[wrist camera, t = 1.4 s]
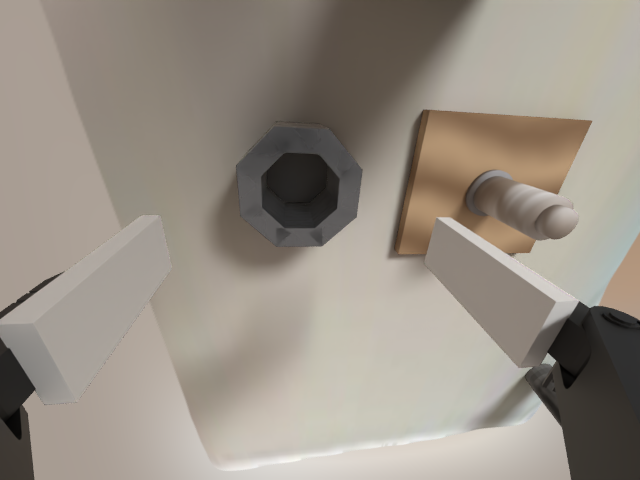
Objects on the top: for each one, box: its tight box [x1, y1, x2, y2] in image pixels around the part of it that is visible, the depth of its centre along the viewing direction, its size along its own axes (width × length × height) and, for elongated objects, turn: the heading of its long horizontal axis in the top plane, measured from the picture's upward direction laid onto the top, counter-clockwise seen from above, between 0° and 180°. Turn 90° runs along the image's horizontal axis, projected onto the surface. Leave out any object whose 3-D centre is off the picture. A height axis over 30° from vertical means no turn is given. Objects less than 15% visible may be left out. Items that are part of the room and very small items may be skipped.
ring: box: [236, 122, 362, 247], centre depth 22 cm, size 9×9×6 cm
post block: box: [394, 110, 592, 254], centre depth 23 cm, size 14×16×9 cm
